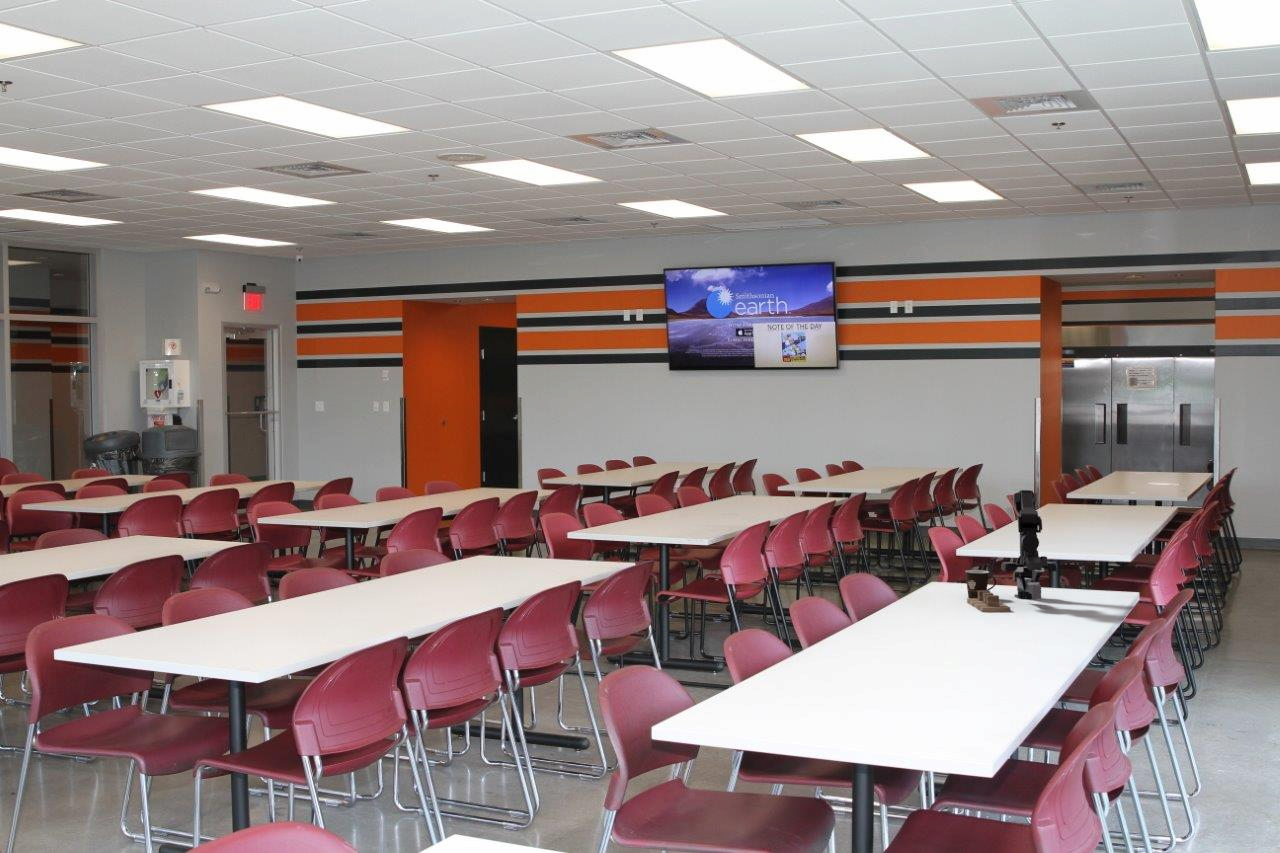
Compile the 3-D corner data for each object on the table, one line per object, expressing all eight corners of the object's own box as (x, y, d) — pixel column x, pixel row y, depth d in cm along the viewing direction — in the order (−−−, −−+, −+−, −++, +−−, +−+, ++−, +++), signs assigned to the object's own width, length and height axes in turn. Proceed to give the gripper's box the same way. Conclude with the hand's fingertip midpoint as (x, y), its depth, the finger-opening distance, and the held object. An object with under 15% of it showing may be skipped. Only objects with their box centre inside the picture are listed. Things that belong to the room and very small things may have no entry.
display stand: (967, 602, 450) (967, 589, 450) (994, 602, 450) (994, 589, 450) (982, 611, 430) (982, 597, 430) (1010, 611, 430) (1010, 597, 430)
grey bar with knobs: (1015, 590, 450) (1015, 577, 449) (1026, 590, 450) (1026, 577, 449) (1031, 598, 432) (1031, 584, 431) (1042, 598, 432) (1042, 584, 431)
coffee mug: (960, 596, 463) (960, 570, 463) (980, 595, 466) (980, 569, 465) (978, 601, 452) (978, 574, 452) (998, 600, 455) (998, 573, 454)
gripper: (1009, 550, 432) (1009, 594, 433) (1062, 550, 432) (1062, 593, 432) (1000, 546, 443) (1000, 589, 444) (1051, 546, 443) (1051, 588, 444)
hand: (1028, 590), depth 441 cm, fingers closed on grey bar with knobs, 3 cm apart
